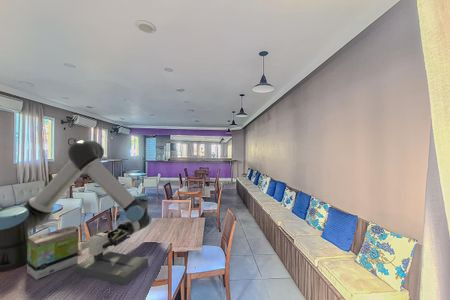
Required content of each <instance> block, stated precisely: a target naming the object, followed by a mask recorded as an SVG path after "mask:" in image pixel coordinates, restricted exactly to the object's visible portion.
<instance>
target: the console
mask: <svg viewBox="0 0 450 300" xmlns="http://www.w3.org/2000/svg"><path fill="white" fill-rule="evenodd" d="M147 267H149V258H146V257H139V256H136V255H129V254H126V253H125V254H124V253H119V252H113V251H109V250H105V251H103V258H101V259H99V260H95V259H94V255H92V256H91V257H89V258H88V259H85V260H83V261H82V262H80V263H79V264H78V263H77V264H75V274H79V275H82V276H87V277H91V278H95V279H98V280H103V281H107V282H110V283H115V284H117V285H118V284H119V285H123V286H125V285H128V283H129V282H131V281H132V280H133V279H134V278H135V277H136V276H138V275H139V274H140V273H141V272H143V271H144V270H145V269H146V268H147Z"/></svg>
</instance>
